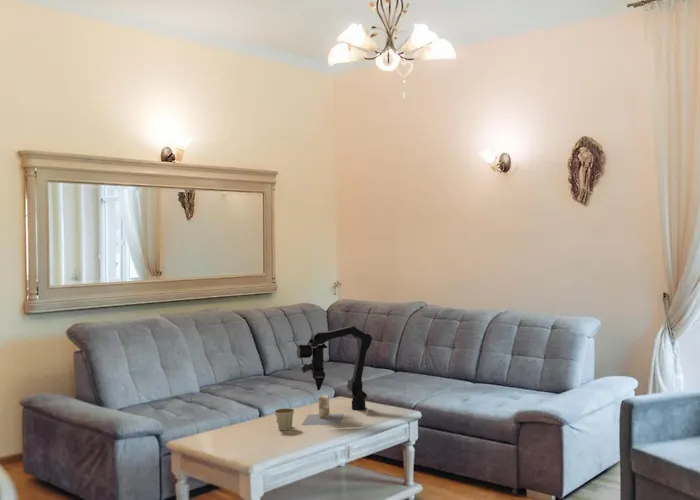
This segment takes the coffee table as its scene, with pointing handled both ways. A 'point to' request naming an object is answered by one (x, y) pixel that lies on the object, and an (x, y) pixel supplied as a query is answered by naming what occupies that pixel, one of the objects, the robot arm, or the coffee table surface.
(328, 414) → the birch block
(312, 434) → the coffee table surface
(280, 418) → the flower pot
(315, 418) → the mat
